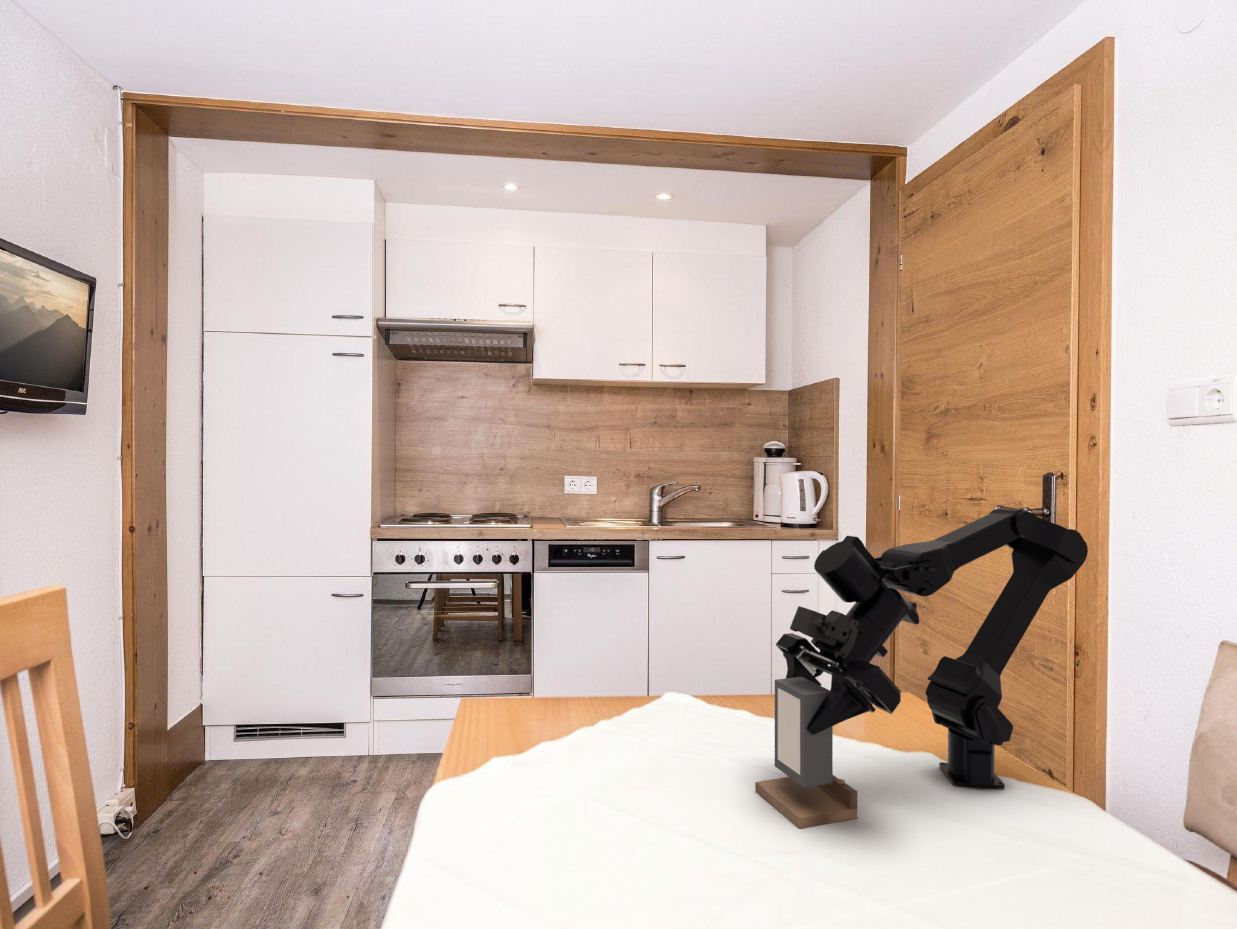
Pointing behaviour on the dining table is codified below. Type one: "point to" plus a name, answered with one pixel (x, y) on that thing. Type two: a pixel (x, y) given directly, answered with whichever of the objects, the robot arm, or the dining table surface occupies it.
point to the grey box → (801, 733)
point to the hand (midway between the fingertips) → (793, 722)
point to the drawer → (810, 801)
